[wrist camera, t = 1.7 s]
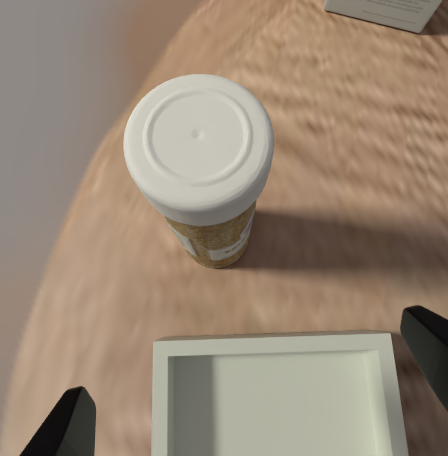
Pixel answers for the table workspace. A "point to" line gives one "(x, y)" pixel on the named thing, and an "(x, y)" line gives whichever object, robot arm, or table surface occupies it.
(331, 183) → the table surface
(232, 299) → the table surface
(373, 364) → the tray
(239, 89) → the sprinkles bottle
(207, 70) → the table surface
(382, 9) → the small box
